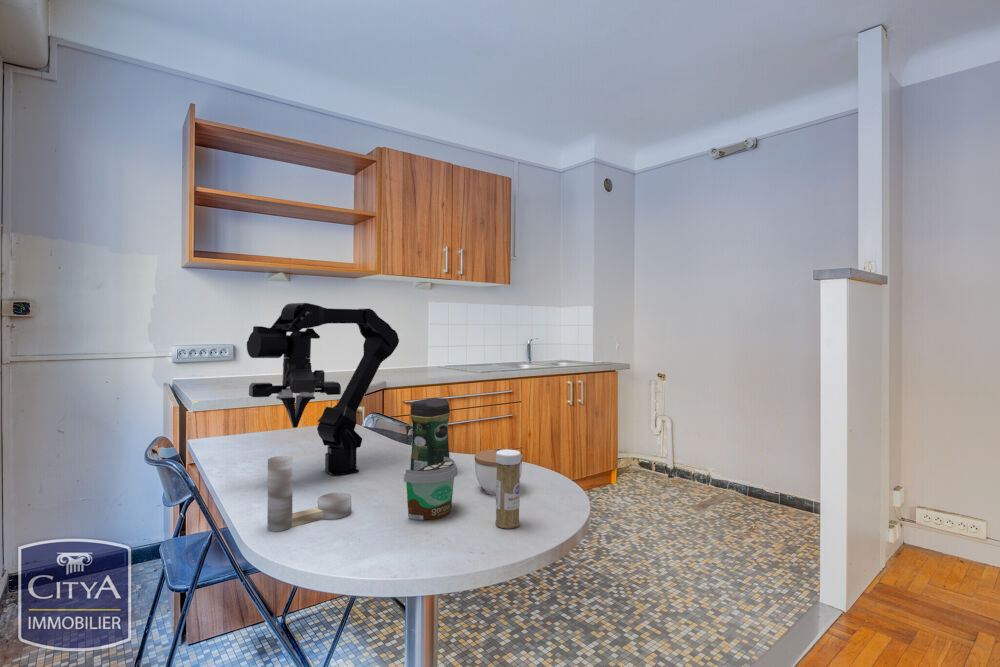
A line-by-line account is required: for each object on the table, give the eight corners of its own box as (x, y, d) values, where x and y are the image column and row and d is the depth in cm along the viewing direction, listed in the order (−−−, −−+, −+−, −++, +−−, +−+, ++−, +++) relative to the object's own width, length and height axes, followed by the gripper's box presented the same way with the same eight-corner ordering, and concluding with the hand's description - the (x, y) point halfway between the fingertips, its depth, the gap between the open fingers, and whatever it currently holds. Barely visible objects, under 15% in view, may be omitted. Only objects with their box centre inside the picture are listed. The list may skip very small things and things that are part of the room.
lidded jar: (530, 494, 110) (531, 451, 110) (484, 500, 106) (484, 456, 106) (510, 480, 120) (511, 441, 120) (467, 485, 116) (467, 444, 116)
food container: (429, 532, 90) (429, 475, 89) (403, 524, 93) (403, 470, 93) (470, 511, 100) (470, 460, 100) (445, 505, 103) (445, 456, 103)
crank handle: (342, 505, 100) (343, 444, 100) (356, 514, 96) (357, 450, 96) (262, 524, 90) (262, 457, 90) (274, 535, 86) (274, 464, 86)
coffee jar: (431, 467, 131) (431, 394, 131) (455, 472, 126) (455, 397, 126) (403, 476, 123) (404, 399, 123) (428, 482, 118) (429, 402, 118)
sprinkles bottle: (516, 530, 91) (517, 455, 91) (491, 527, 92) (492, 453, 92) (522, 521, 95) (523, 449, 95) (499, 518, 96) (500, 447, 96)
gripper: (258, 358, 104) (255, 435, 103) (349, 359, 114) (347, 429, 114) (249, 357, 113) (247, 428, 112) (334, 358, 123) (332, 423, 123)
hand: (294, 427), depth 115 cm, fingers closed
